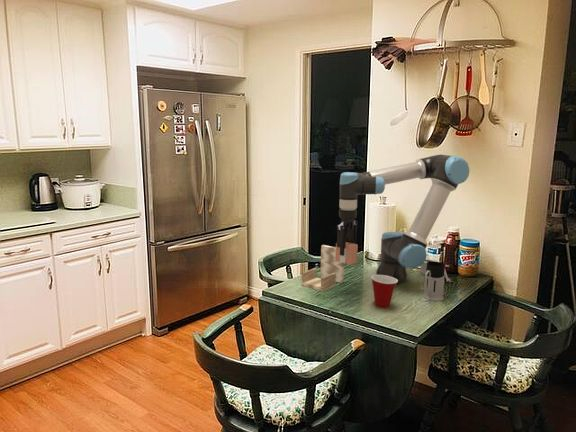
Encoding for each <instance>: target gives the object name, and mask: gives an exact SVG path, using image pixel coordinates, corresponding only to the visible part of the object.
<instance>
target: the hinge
mask: <svg viewBox="0 0 576 432" xmlns="http://www.w3.org/2000/svg"><path fill="white" fill-rule="evenodd" d="M431 261H435V259H434V260H433V259H430V258H426V260H425V262H424V263H423V264H422V265H421V266H419V268H420V273H421V274H422V273H423V274H422V275H424V276H425V274H426V268H427V262H431ZM435 262H437V261H435ZM444 275H445V276H444V284H445V282H448V281H449V283H451V282H452V281H451V278H449V277H448V274H447V271H446V269H445V271H444Z"/></svg>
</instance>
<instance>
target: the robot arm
mask: <svg viewBox="0 0 576 432" xmlns="http://www.w3.org/2000/svg"><path fill="white" fill-rule="evenodd" d="M469 176H470V167H469V163H468V161H467V160H466V159H465V158H463V157H460V156H457V155H447V154H435V155H431V156H426V157H422V158H418V159H416V160H415V161H413V162H408V163H404V164H399V165H394V166H390V167H384V168H379V169H373V170H370V171H364V172H350V171H346V172H345V171H344V172H342V173H340V178H339V201H338V202H339V205H338V206H339V207H338V208H339V210H338V217H339V218H340V224H337V225H336V231H337V232H336V243H337V247H339V248H340V262H342V263H344V264H346V248H345V246H346V242H348V243H353V244H357V236H358V235H357V234H358V233H357V232H358V223H359V221H358V220H355V219H357V215H358V210H357V208H358V195H360V196H361V195H379V194H381V195H382V194H383V193H384V192H385V189H386V185H389V184H394V183H400V182H404V181H409V180H414V179H420V180H424V179H430V180H431V183H432V185H431V186H430V188H429V190H428V192H427V194H426V196H425V198H424V200H423V202H422V203H421V206H420V208H419V209H418V212H417V213H416V215H415V217H414V220H413V221H412V224H411V225H410V228H409V230H407V231H405V232H403V231H387V232H383V233H382V235H381V241H380V242H381V246H380V262H379V264H378V267H377V269H376V272H375V275H386V276H390V277H393V278H395V279H397V280H398V282H397V283H396V284H402V283H406V282H407V281H408V279H409V276H408V275H409V274H408V272H407V269H409V270H410V269H411V270H412V269H417V268H420V266H421V265H422V264H423V263H424V262H425V260H426V259H427V255H428V253H427V251H426V248H427V246H428V241H427V239H428V237H429V235H430V234H431V231H432V229H433V227H434V225H435V223H436V222H437V220H438V217H439V215H440V214H441V212H442V209H443V208H444V205H445V203H446V202H447V200H448V198H449V196H450V194H451V192H453V191H456V190H457V188H458V186H459V185H460V184H462V183H464V182H466V181H467V180H468V178H469Z"/></svg>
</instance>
